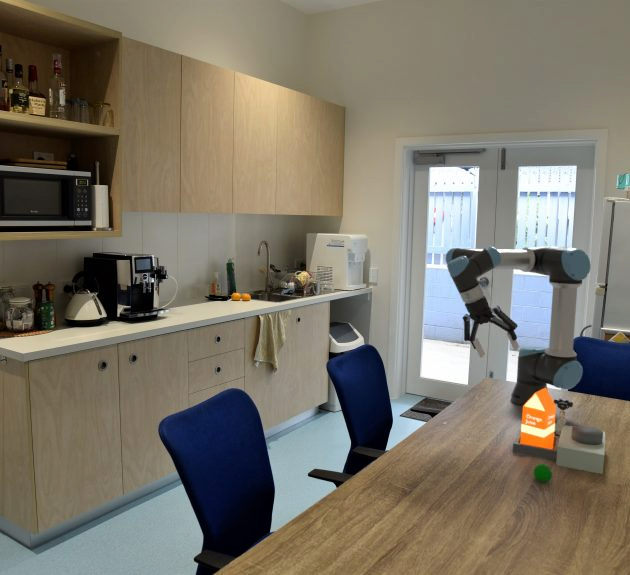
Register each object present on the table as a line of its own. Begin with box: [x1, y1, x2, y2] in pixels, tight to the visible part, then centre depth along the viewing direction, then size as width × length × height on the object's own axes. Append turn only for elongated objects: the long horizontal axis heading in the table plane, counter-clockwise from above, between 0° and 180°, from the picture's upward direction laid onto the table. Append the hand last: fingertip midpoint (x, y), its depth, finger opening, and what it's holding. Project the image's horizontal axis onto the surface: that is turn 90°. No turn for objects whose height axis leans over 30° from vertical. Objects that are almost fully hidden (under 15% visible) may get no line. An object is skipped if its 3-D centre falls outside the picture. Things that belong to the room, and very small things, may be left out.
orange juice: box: [520, 388, 557, 449], centre depth 196 cm, size 8×9×20 cm
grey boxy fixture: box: [512, 424, 606, 475], centre depth 194 cm, size 22×26×9 cm
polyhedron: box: [532, 463, 553, 483], centre depth 173 cm, size 5×5×5 cm
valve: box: [553, 398, 574, 436], centre depth 210 cm, size 7×7×12 cm
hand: (499, 352), depth 211 cm, fingers open, 13 cm apart
